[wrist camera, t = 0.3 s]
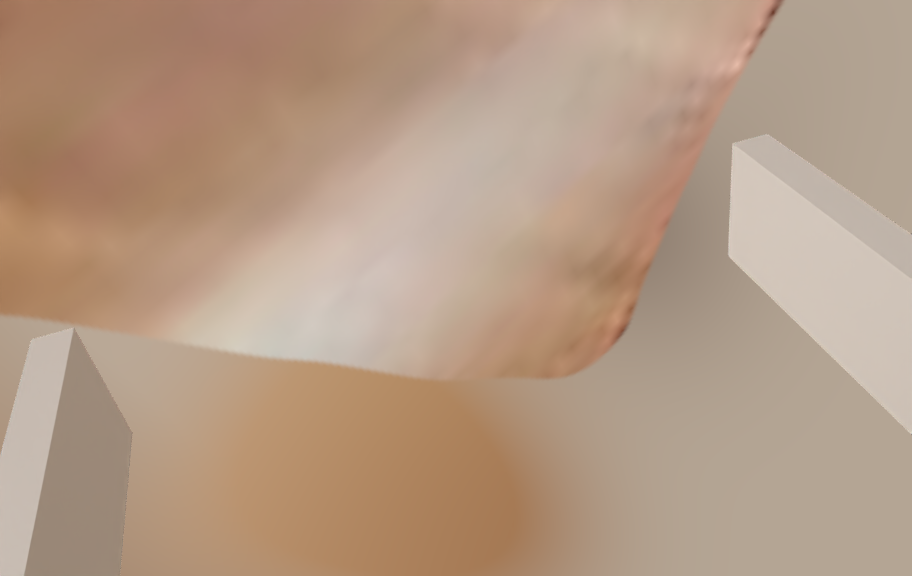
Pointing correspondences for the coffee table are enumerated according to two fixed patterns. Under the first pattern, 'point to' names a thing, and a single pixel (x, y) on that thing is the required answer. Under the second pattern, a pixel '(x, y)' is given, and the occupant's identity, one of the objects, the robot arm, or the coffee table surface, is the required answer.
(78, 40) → the coffee table surface
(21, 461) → the robot arm
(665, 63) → the coffee table surface
